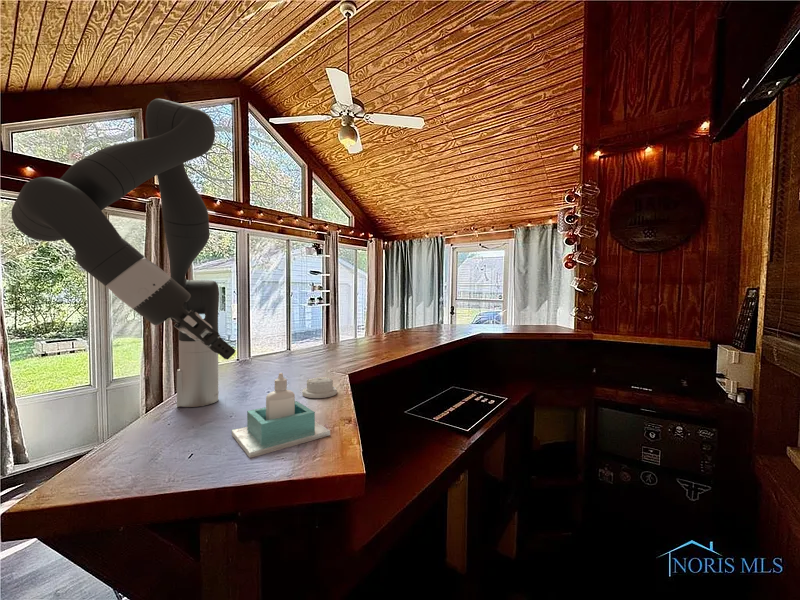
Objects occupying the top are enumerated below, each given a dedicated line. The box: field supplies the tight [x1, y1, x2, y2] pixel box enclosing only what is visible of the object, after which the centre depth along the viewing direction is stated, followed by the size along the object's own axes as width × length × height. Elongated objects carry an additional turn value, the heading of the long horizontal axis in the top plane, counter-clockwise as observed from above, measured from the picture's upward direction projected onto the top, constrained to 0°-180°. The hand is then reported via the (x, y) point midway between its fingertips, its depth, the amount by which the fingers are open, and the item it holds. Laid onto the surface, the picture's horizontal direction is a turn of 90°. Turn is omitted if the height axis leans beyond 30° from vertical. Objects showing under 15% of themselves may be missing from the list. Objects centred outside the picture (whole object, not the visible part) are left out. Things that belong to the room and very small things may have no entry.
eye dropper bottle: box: [265, 372, 296, 421], centre depth 72 cm, size 4×6×12 cm
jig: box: [231, 400, 331, 459], centre depth 72 cm, size 16×13×5 cm
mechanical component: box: [301, 376, 338, 399], centre depth 102 cm, size 10×4×10 cm
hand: (225, 352), depth 65 cm, fingers open, 8 cm apart
